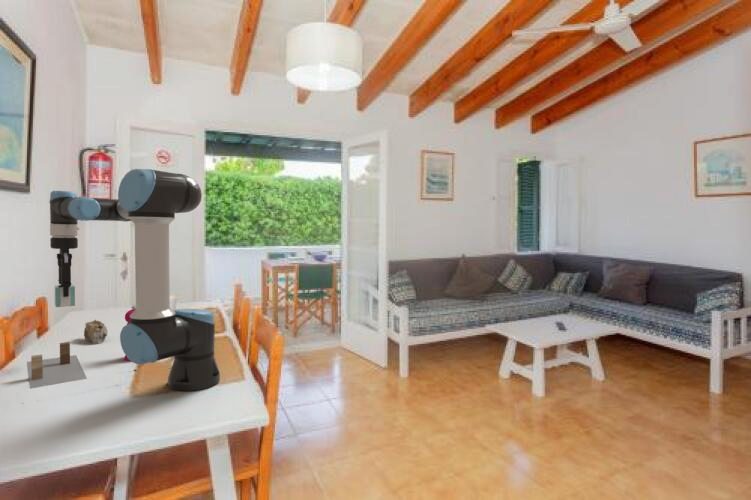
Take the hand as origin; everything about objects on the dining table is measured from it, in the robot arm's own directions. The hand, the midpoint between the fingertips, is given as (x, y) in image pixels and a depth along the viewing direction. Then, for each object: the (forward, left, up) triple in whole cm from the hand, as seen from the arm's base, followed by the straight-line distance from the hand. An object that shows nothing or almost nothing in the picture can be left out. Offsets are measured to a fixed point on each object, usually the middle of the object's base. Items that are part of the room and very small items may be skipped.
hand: (64, 304), depth 147 cm
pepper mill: (-7, -20, -21) cm, 30 cm away
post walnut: (0, 0, -20) cm, 20 cm away
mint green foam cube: (0, 0, 0) cm, 0 cm away
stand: (-6, +3, -21) cm, 22 cm away
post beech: (-12, +8, -20) cm, 25 cm away
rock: (+30, -13, -21) cm, 39 cm away
